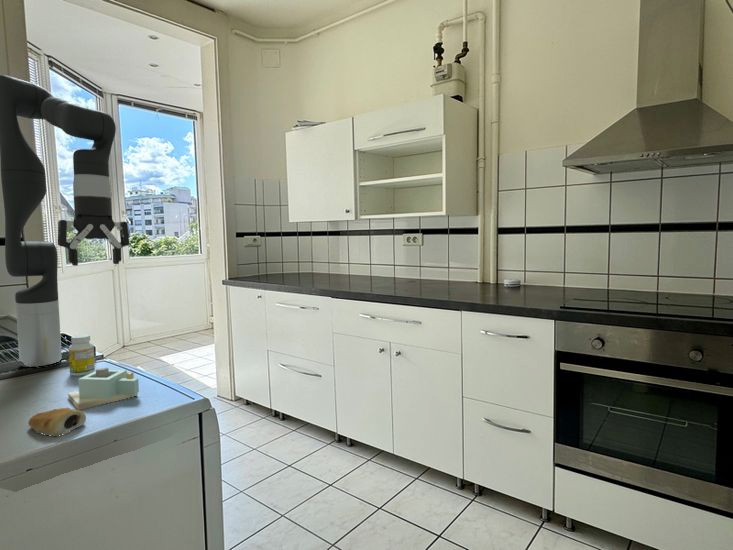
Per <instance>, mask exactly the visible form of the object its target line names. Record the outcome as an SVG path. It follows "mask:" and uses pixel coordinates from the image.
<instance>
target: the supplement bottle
mask: <svg viewBox="0 0 733 550" xmlns="http://www.w3.org/2000/svg"><path fill="white" fill-rule="evenodd" d="M70 340H71V343H72V344H70V345H69V347H68V360H69V362H68V363H69V374H70V375H71V376H74V377H80V376H82V377H83V376H86V375H88V374H90V373H92V372H95V371H96V367H95V366H96V365H95V364H96V363H95V348H94V347H95V345H94V344H93V343H92V342H90V341H91V335H90V334H76V335H73V336H71V339H70Z"/></svg>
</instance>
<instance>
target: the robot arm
mask: <svg viewBox="0 0 733 550" xmlns="http://www.w3.org/2000/svg"><path fill="white" fill-rule="evenodd" d="M18 117H22V118H27V119H32V120H44V121H46V122H47V123H48V124H49V125H52V126H54V127H56V128H58V129H60V130H62V131H63V132H64V134H66V135H68V136H69V137H74V138H78V139H82V140H83V139H84V140H89V141H93V144H92V146H91V148H82V149H81V148H80V149H76V150H74V152H73V155H72V163H73V166H72V167H73V183H72V187H73V188H72V190H73V208H74V219H73V220H65V219H60V220H58V222H57V245H58V246H59V247H63V248H65V249H67V251H68V252H67V253H68V262H69V264H72V266H74V267H75V266H79V261H78V258H79V257H78V249H77V248H78V245H79V244H80V243H82V242H83V240H84V239H86V240H94V239H96V240H104V239H105V240H106V241H107V242H108V243H109V244H110V245H111V246H112V247H113V248H112V263H113V265H119V264H120V262H122V248H124V247H126V246H127V247H128V246H129V245H130V236H129V228H128V225H129V224H128V222H127V221H117V222H115V221H114V220H113V204H112V203H113V202H112V194H113V193H112V186H111V181H110V165H109V161H110V155H111V150H112V146H113V144H114V143H113V142H114V140H115V136H116V132H117V130H116V129H117V127H116V123H115V120H114V119H113V117H112V115H110V114H109V113H108V112H106V111H102V110H99V109H93V108H89V107H87V106H81V105H79V104H78V103H76V102H74V101H71V100H68V99H65V98H62V97H60V96H59V97H58V96H56V95H54V94H52V93H51V92H49V90H47V89H46V88H44V87H42V86H40V85H39V84H37V83H34V82H30V81H26V80H23V79H20V78H17V77H14V76H13V77H12V76H11V75H6V74H5V75H4V74H0V179H1V191H2V199H3V207H4V226H5V227H4V229H5V230H4V231H5V232H4V239H5V241H4V246H5V247H4V251H5V252H4V254H5V255H4V256H5V257H4V259H5V266H6V267H5V268H6V271H7V273H8V274H9V276H11V277H15V278H16V277H21V278H22V277H39V276H41V277H42V279H41V280H40V281H38V282H37V283H35V284H33V285H31V286H29V287H25V288H22V289H20V290H18V291H16V293H15V295H14V297H15V298H14V299H15V313H16V327H17V329H16V330H17V342H18V343H17V345H18V346H17V347H18V360H19V361H21V362H23V363H24V365H26V366H29V367H31V366H39V365H47V364H52V363H56V362H58V361H60V360H61V359H62V342H61V341H62V340H61V321H60V320H61V319H60V318H61V317H60V302H59V301H60V300H59V287H58V265H59V264H58V251H57V246H56V245H55V243H54V242H52V241H22V240H21V238H22V233H23V230H24V228H25V226H26V224H27V223H28V220H29V219H30V217H31V216H32V214H33V213H34V212H35V211H36V210H37V208H38V207H39V206H40V204H42V201H43V200H44V199H45V196H46V195H47V194H46V193H47V179H46V169H45V166H44V164H43V162H42V160H41V159H40V156H38V154H37V153H36V152H35V151H34V149H33V148H32V147H31V145H30V144H29V143H28V141H27V140H26V138H25V136H24V134H23V132H22V130H21V127H20V124H19V120H18ZM72 226H73V228H74V229H75V230H76V231H77V233H75V235H74V236H73V237H72V239H71V241H69V242H68V241H67V237H68V236H67V232H68V230H70V229H71V227H72ZM114 228H116V230H118V231H119V235H120V241H118V239H117V237H115V235H114V234H113V233H112V231H113V229H114Z"/></svg>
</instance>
